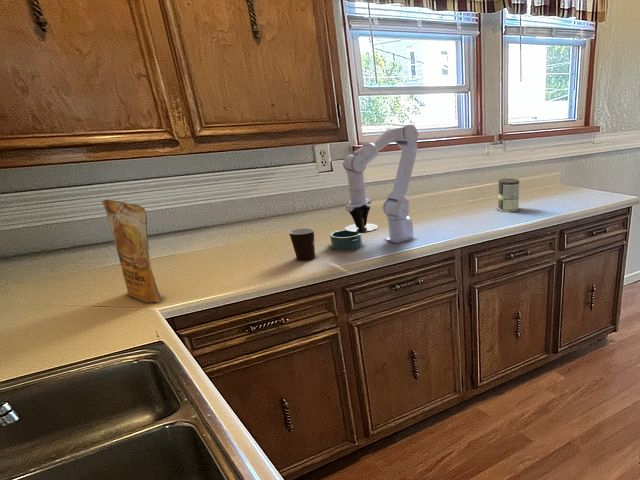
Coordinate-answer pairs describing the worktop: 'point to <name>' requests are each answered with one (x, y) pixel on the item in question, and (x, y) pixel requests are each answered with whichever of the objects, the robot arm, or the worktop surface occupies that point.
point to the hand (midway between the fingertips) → (361, 226)
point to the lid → (361, 230)
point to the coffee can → (508, 195)
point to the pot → (345, 240)
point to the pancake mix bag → (133, 248)
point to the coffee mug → (303, 243)
